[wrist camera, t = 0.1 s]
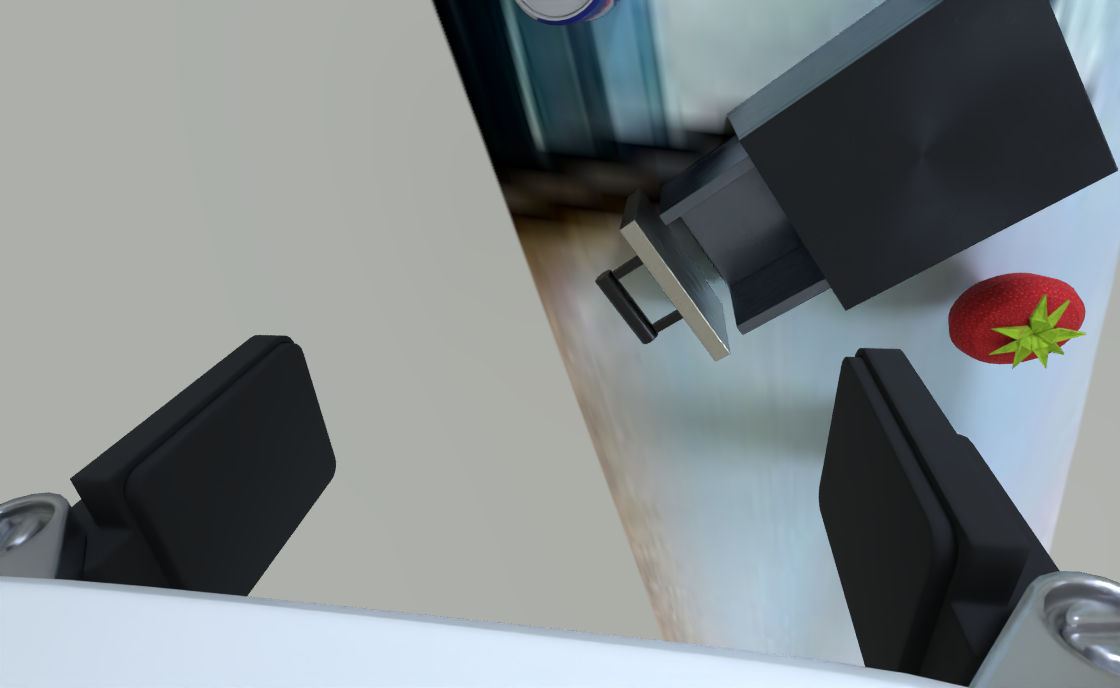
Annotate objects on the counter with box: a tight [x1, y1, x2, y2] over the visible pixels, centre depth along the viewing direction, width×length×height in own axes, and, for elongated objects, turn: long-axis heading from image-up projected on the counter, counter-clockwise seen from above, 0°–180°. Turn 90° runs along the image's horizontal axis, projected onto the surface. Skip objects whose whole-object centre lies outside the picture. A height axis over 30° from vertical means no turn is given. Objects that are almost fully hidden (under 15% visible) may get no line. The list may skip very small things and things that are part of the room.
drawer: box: [595, 135, 831, 361], centre depth 41 cm, size 18×11×8 cm, turn 128°
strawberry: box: [948, 273, 1086, 369], centre depth 41 cm, size 6×8×10 cm
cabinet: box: [727, 0, 1118, 310], centre depth 37 cm, size 15×13×10 cm
